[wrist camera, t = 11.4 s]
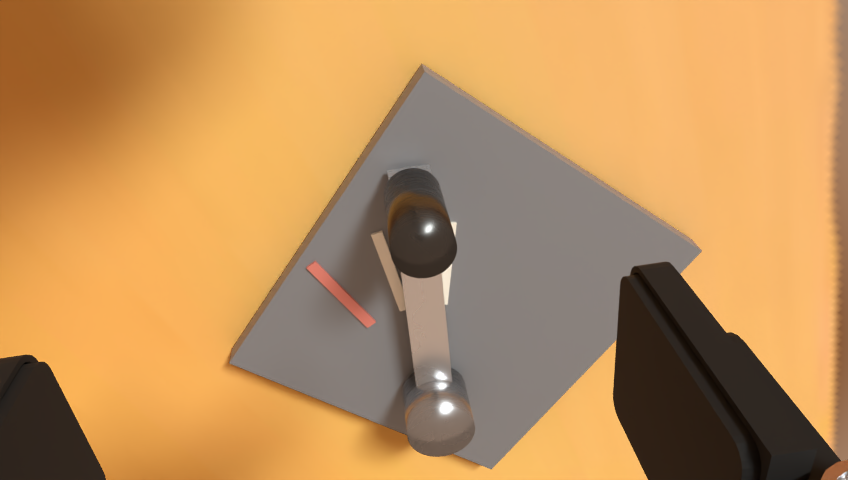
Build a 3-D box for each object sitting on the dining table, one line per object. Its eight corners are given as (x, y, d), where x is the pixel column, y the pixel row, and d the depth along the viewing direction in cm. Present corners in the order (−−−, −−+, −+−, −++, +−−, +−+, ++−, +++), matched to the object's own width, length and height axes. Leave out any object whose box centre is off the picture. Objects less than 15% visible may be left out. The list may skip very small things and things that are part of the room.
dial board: (421, 63, 37) (425, 72, 36) (691, 239, 45) (703, 252, 44) (232, 348, 46) (228, 365, 44) (487, 454, 54) (491, 471, 52)
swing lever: (467, 407, 48) (486, 494, 42) (405, 416, 48) (416, 505, 41) (445, 152, 38) (467, 214, 31) (368, 162, 38) (373, 227, 31)
